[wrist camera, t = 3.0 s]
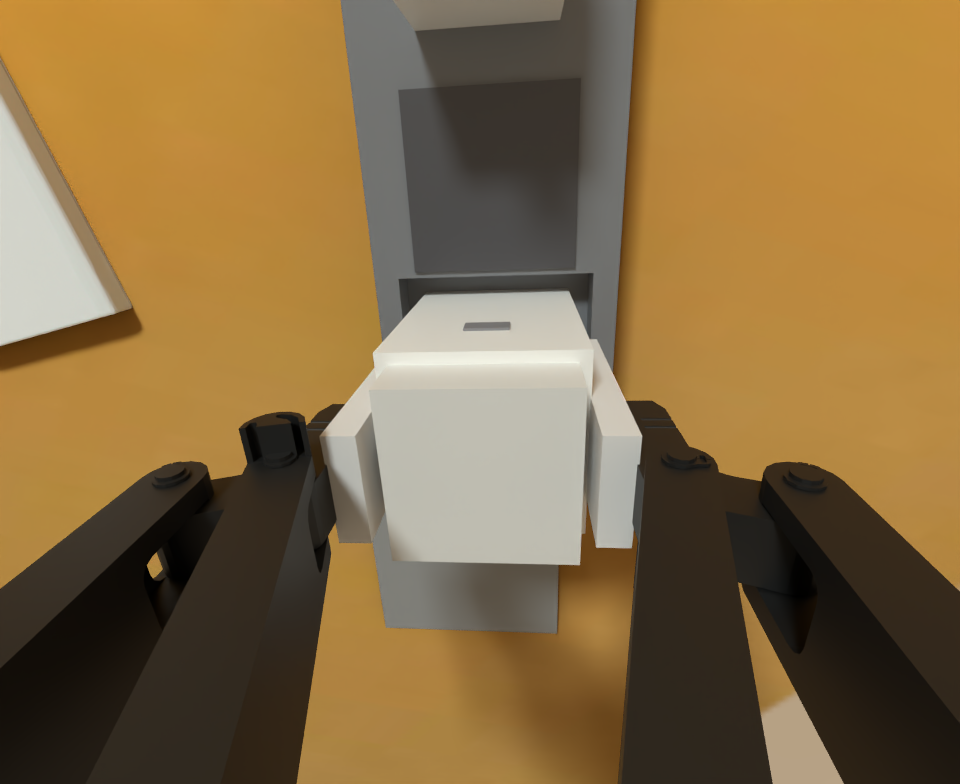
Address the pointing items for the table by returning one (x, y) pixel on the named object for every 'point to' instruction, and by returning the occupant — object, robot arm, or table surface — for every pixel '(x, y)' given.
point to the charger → (485, 427)
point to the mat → (465, 593)
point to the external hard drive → (44, 237)
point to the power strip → (493, 147)
